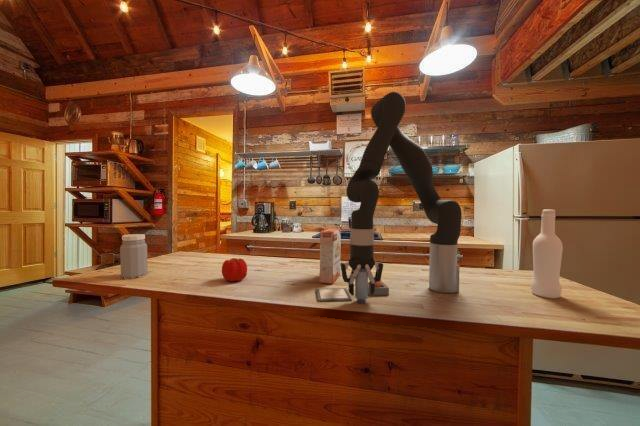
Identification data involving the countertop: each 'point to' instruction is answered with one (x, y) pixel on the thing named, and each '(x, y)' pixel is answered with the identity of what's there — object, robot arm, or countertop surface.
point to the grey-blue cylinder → (361, 286)
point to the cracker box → (330, 255)
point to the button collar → (380, 290)
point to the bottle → (547, 258)
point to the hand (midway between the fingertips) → (361, 294)
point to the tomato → (234, 269)
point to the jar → (133, 256)
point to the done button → (378, 284)
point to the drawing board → (333, 295)
